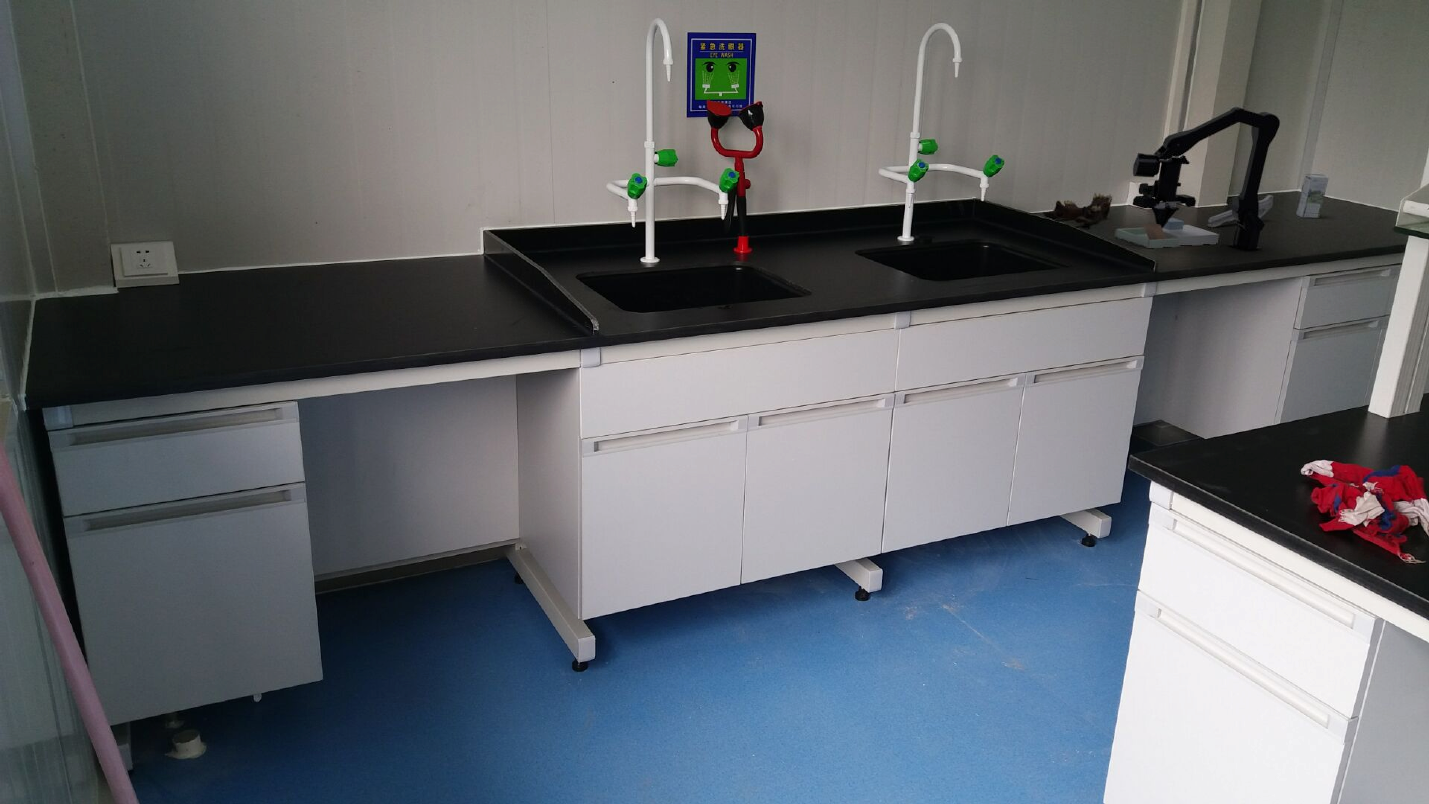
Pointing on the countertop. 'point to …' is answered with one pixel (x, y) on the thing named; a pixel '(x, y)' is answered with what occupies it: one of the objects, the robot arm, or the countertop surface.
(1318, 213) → the syrup box
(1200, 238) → the plate
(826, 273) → the countertop surface
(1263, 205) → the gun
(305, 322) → the countertop surface
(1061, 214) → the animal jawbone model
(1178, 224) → the slate blue tile
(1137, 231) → the tray
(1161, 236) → the terracotta tile
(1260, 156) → the robot arm
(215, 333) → the countertop surface
